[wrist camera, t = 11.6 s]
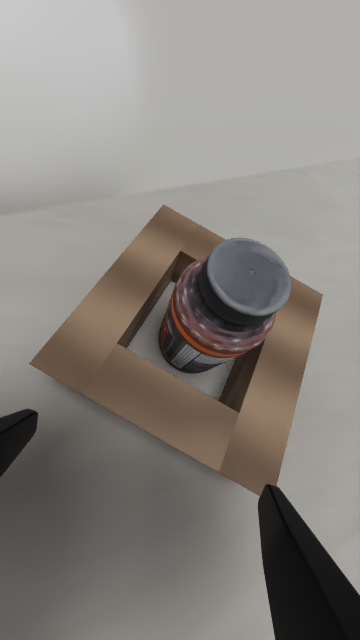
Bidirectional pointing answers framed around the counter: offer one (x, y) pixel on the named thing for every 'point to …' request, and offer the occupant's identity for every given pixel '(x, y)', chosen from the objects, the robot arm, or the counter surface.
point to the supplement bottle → (223, 305)
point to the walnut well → (169, 391)
